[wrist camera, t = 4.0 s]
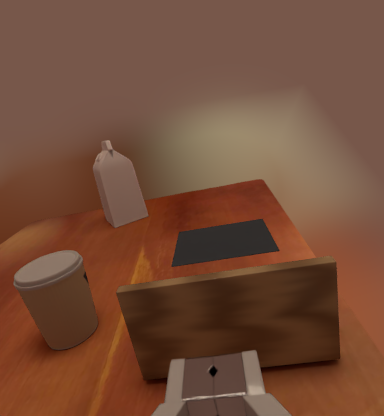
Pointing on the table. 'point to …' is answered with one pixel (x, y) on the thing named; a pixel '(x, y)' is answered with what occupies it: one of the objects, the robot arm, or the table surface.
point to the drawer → (236, 315)
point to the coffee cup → (58, 298)
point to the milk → (118, 187)
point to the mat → (223, 242)
